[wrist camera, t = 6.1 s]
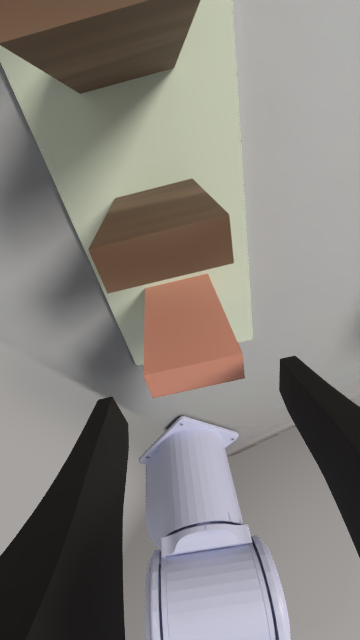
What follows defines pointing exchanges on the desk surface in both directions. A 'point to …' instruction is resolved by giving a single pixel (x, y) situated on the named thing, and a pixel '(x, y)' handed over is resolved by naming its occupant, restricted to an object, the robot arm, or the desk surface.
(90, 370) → the desk surface
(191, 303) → the domino
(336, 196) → the desk surface
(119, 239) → the domino
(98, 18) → the domino
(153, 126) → the runner mat
